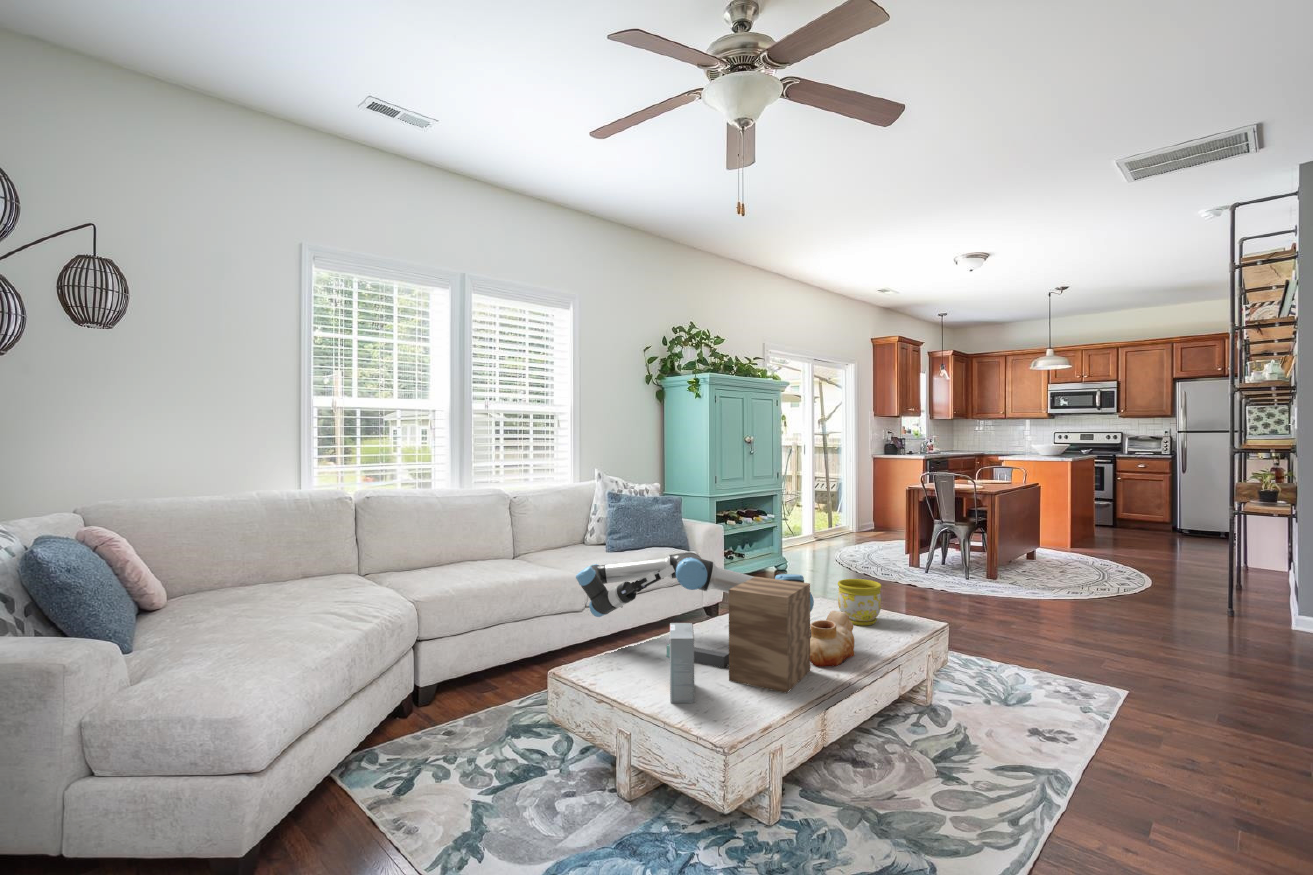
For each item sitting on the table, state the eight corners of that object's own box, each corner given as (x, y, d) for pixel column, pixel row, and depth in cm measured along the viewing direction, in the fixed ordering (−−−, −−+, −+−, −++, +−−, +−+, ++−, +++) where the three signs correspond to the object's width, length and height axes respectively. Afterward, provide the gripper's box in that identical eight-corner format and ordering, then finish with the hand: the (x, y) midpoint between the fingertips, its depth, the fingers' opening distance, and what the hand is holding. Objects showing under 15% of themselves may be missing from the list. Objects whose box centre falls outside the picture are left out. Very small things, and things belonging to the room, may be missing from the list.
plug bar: (666, 656, 237) (666, 645, 237) (672, 653, 240) (672, 642, 240) (724, 668, 225) (724, 656, 225) (729, 664, 229) (728, 653, 228)
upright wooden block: (755, 660, 233) (755, 576, 232) (810, 670, 222) (810, 583, 222) (728, 680, 214) (728, 589, 214) (787, 693, 203) (786, 597, 203)
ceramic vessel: (863, 651, 242) (863, 611, 242) (834, 672, 221) (834, 628, 221) (828, 643, 250) (828, 605, 250) (797, 663, 230) (797, 620, 230)
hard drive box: (670, 683, 212) (670, 622, 212) (693, 683, 212) (693, 622, 211) (669, 703, 196) (669, 637, 196) (695, 703, 196) (694, 637, 196)
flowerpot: (831, 616, 287) (831, 579, 287) (870, 614, 289) (870, 577, 289) (847, 628, 269) (847, 589, 269) (889, 626, 271) (889, 587, 271)
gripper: (644, 596, 259) (684, 574, 249) (607, 611, 238) (649, 588, 228) (636, 578, 261) (676, 556, 251) (599, 592, 240) (640, 568, 230)
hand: (663, 571), depth 239 cm, fingers open, 13 cm apart
